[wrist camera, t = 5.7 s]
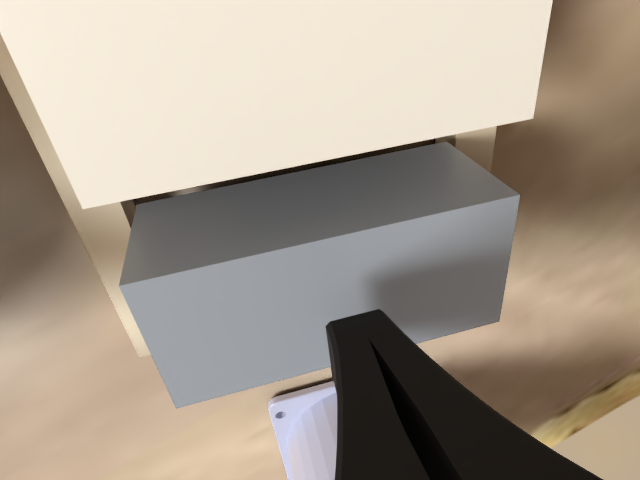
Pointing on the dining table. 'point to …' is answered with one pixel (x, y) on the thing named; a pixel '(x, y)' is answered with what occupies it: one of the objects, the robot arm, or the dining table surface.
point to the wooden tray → (116, 218)
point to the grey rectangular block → (314, 265)
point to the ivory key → (262, 81)
